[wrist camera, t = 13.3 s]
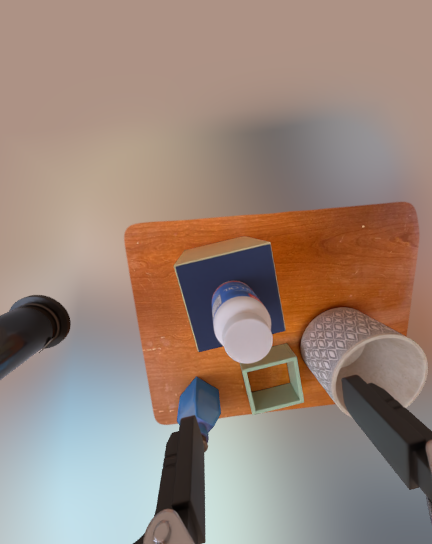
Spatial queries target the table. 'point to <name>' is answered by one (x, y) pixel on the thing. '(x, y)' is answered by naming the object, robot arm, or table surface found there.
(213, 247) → the stand
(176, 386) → the table surface
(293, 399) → the green hollow square box
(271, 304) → the pad
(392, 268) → the table surface
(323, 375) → the planter
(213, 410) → the perfume bottle
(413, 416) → the robot arm
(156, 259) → the table surface
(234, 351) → the pill bottle
